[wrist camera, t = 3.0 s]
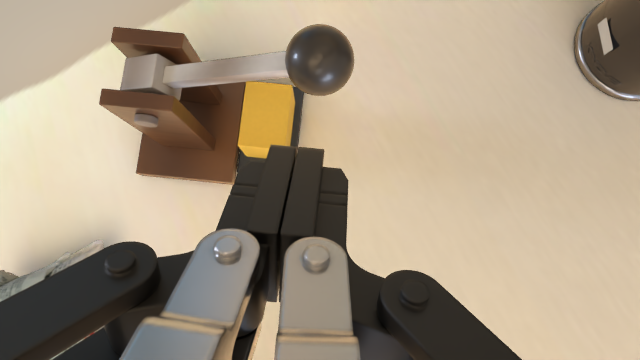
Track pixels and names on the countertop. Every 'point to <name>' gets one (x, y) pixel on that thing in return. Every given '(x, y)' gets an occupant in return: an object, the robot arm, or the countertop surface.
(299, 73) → the ball-knob lever
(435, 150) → the countertop surface
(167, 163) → the brown lever base bracket
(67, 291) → the robot arm
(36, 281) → the packaged food
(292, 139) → the butter
